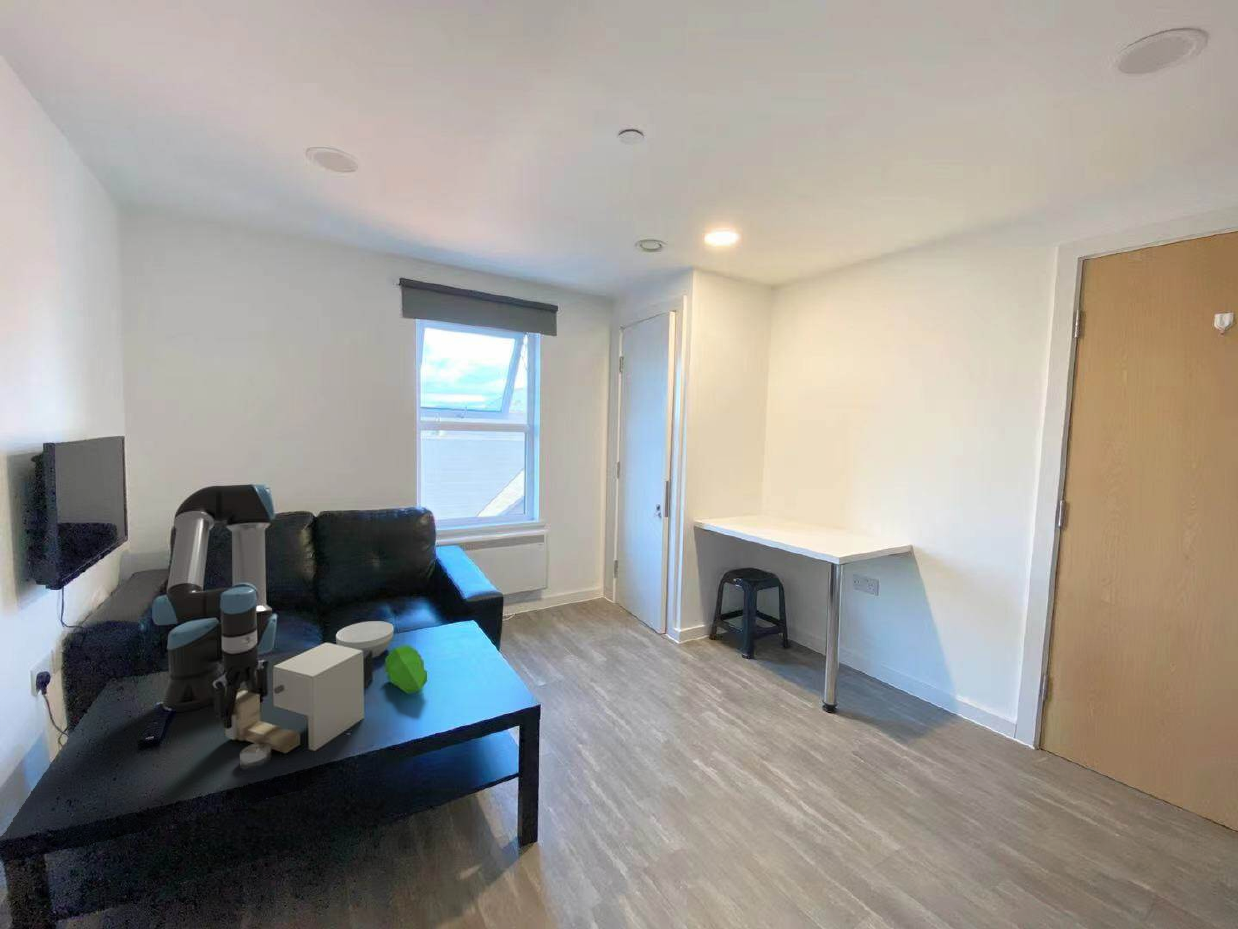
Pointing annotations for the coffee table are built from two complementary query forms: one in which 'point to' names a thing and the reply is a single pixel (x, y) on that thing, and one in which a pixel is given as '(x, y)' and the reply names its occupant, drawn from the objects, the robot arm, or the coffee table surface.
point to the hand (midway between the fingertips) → (242, 731)
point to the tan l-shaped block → (260, 725)
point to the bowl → (366, 636)
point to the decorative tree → (406, 669)
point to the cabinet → (322, 689)
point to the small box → (367, 667)
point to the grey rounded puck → (255, 755)
